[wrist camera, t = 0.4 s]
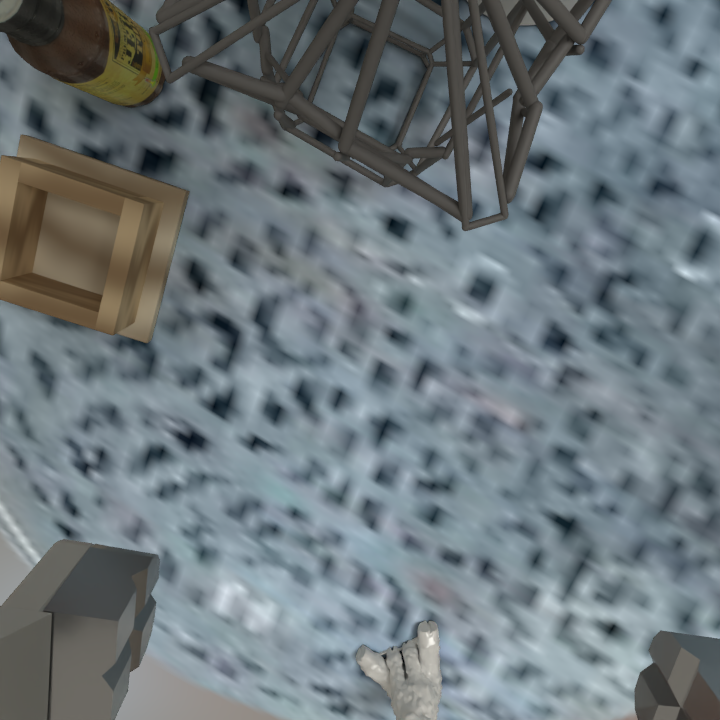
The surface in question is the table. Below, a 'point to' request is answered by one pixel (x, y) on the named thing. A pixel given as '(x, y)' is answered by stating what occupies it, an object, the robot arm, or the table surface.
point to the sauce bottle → (85, 47)
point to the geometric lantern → (353, 143)
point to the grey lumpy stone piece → (409, 674)
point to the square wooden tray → (85, 238)
